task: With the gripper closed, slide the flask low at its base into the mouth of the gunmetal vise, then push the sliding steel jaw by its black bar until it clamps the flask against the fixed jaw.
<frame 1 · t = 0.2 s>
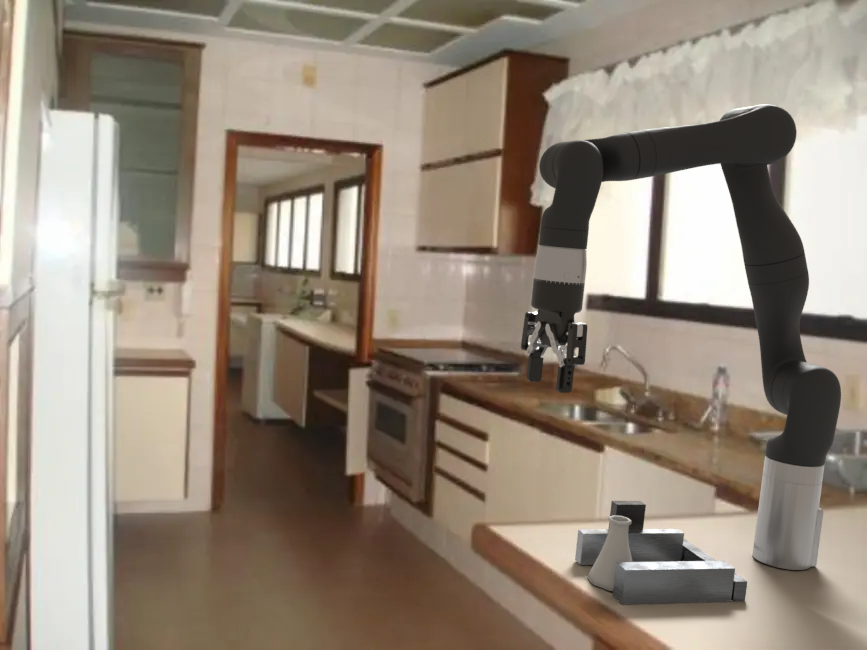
hand: (548, 386, 142), 28 cm above the countertop, tool pointing down, fingers open, 8 cm apart
flask: (612, 585, 142), on the countertop
vise jaw sliding: (628, 532, 151), point 5 cm above the countertop, slide at 0.0 cm
vise fixed: (672, 598, 137), on the countertop
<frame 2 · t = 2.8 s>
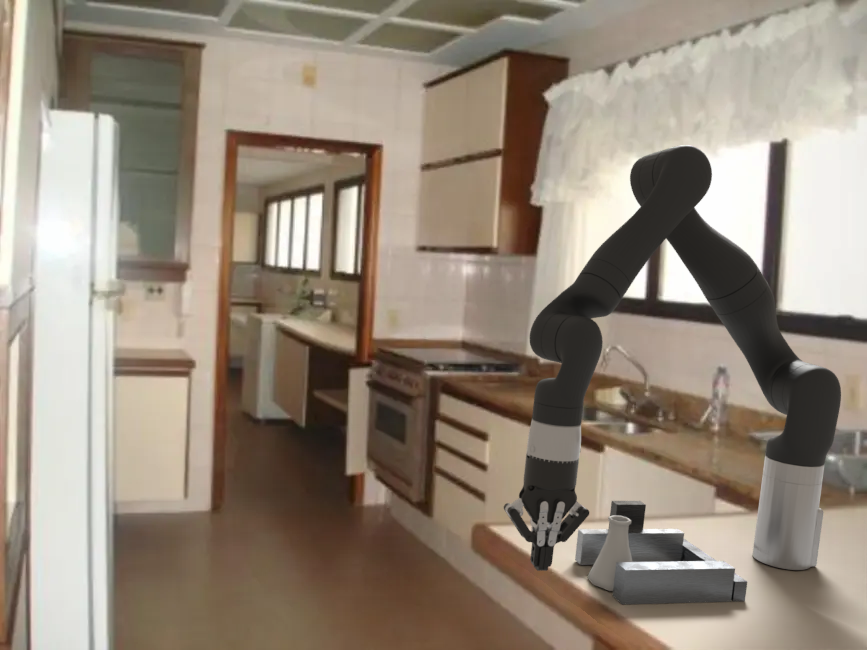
hand: (540, 568, 138), 2 cm above the countertop, tool pointing down, fingers closed
nothing on the countertop moved.
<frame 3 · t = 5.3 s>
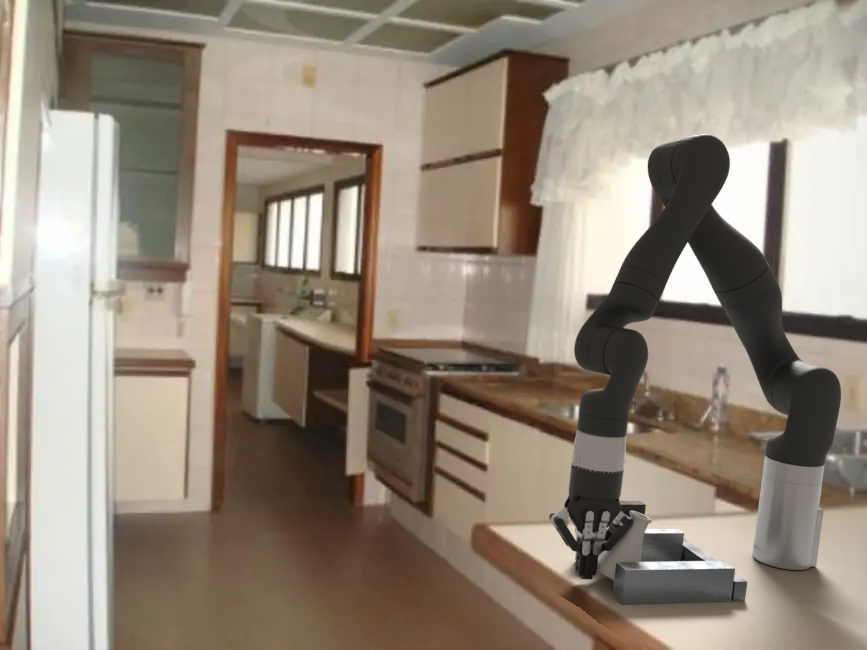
hand: (584, 577, 140), 1 cm above the countertop, tool pointing down, fingers closed
flask: (614, 578, 141), point 1 cm above the countertop, touching gripper
everything else where it was.
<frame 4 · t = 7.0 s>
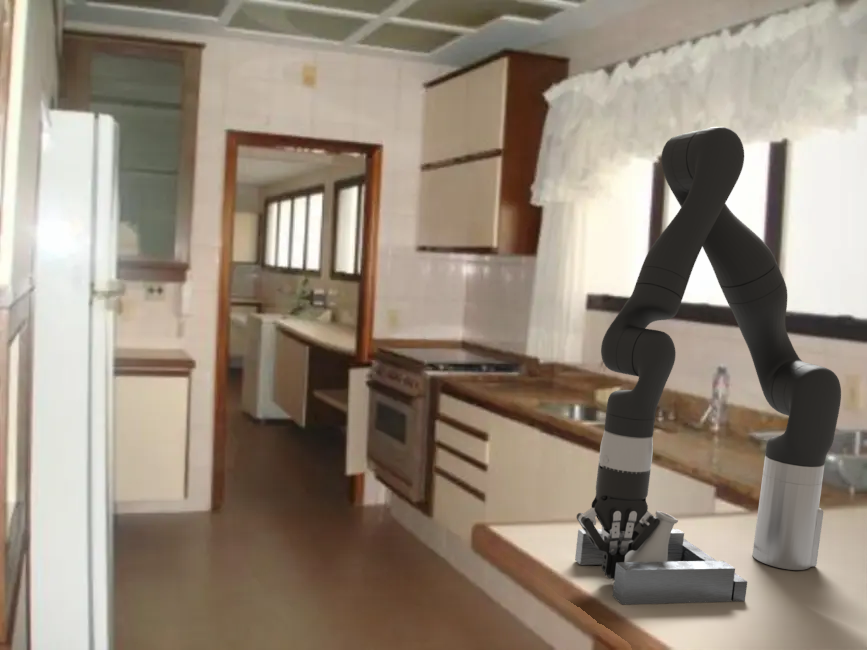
hand: (611, 576, 141), 1 cm above the countertop, tool pointing down, fingers closed
flask: (640, 577, 142), point 1 cm above the countertop, touching gripper, hand
everything else where it was.
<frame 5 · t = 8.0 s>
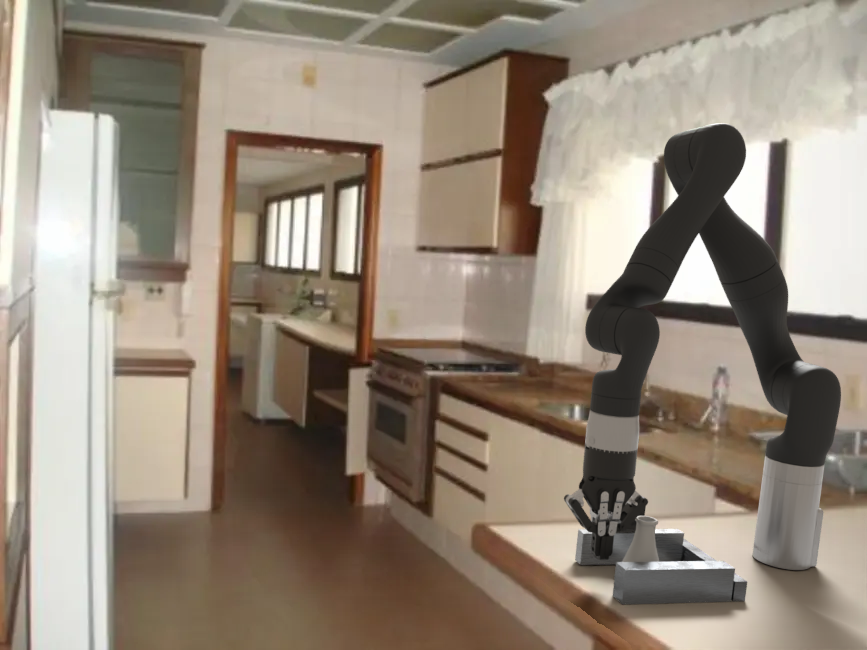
hand: (600, 558, 140), 4 cm above the countertop, tool pointing down, fingers closed
flask: (639, 584, 143), on the countertop
everything else where it was.
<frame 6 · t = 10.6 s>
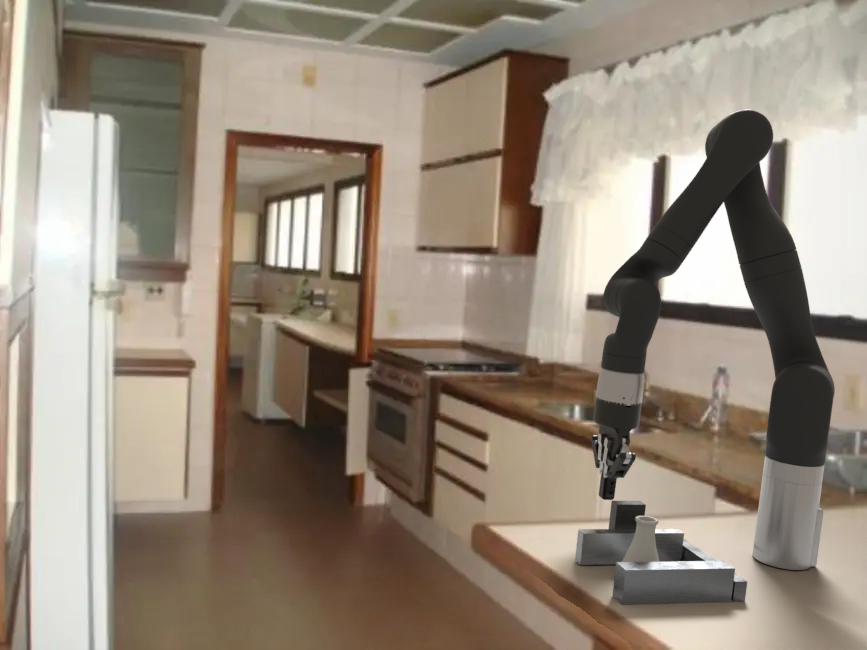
hand: (606, 498, 159), 7 cm above the countertop, tool pointing down, fingers closed
nothing on the countertop moved.
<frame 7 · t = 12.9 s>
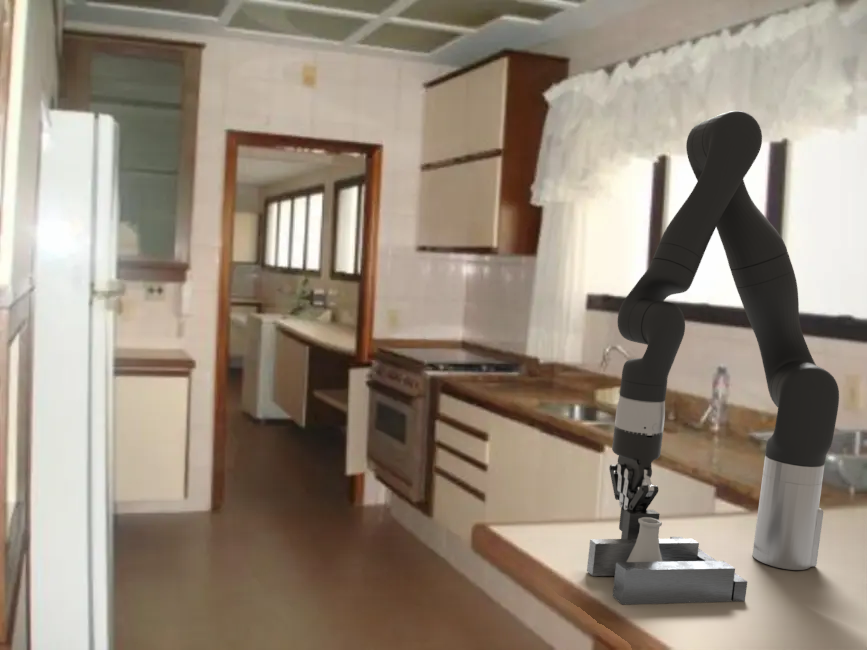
hand: (627, 531, 152), 5 cm above the countertop, tool pointing down, fingers closed
flask: (642, 586, 142), on the countertop, touching vise fixed, vise jaw sliding
vise jaw sliding: (641, 541, 147), point 5 cm above the countertop, slide at 4.5 cm, touching hand, flask
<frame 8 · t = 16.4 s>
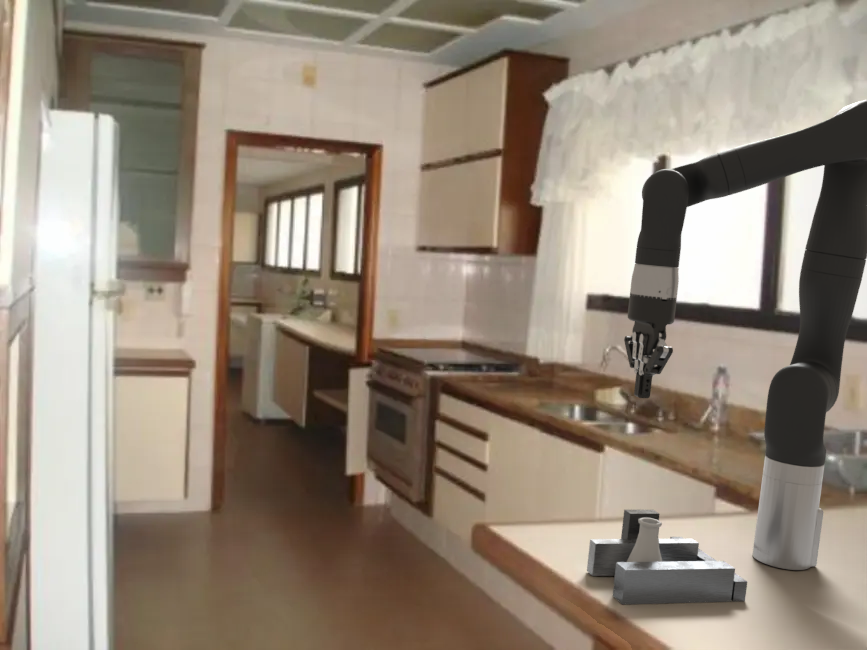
hand: (641, 397, 158), 25 cm above the countertop, tool pointing down, fingers closed
flask: (642, 587, 142), on the countertop
vise jaw sliding: (641, 541, 147), point 5 cm above the countertop, slide at 4.5 cm
at the end: vise jaw sliding slide at 4.5 cm; flask inside the target area (2.1 cm from its centre), on the countertop; flask tilted 0° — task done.
